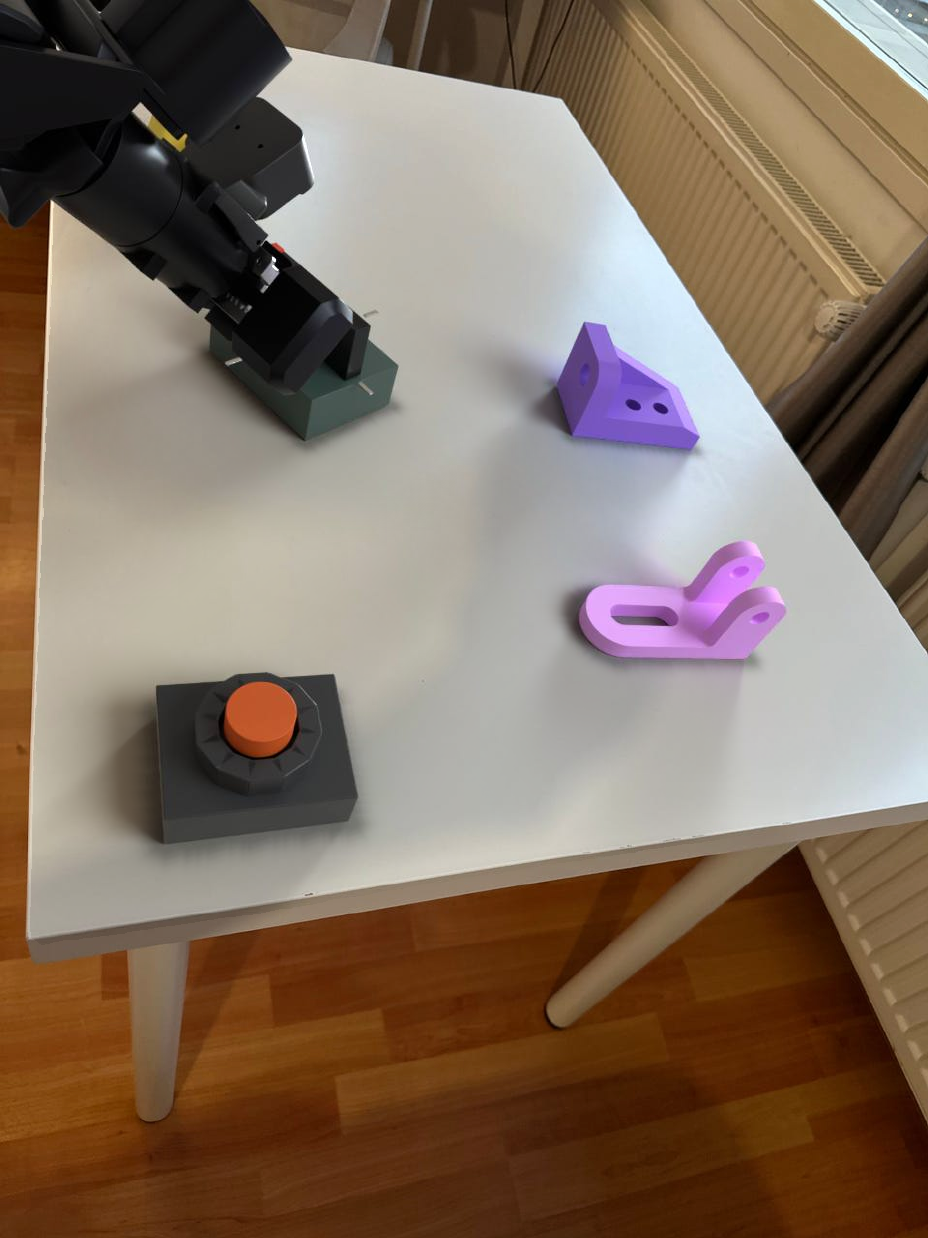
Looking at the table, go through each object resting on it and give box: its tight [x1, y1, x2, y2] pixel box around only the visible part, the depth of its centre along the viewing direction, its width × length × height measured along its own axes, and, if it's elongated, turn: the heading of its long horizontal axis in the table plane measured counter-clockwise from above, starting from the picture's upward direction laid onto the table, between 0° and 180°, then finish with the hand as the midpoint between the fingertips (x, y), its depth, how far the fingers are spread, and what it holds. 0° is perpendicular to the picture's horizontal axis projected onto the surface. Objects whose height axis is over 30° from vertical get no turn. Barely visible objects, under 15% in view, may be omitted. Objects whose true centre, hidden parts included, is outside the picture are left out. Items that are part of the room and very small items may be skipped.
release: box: [155, 671, 359, 845], centre depth 48 cm, size 10×8×5 cm
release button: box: [224, 682, 297, 757], centre depth 46 cm, size 4×4×2 cm
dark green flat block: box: [208, 309, 399, 442], centre depth 70 cm, size 15×15×4 cm
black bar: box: [271, 242, 372, 380], centre depth 67 cm, size 11×2×5 cm, turn 46°
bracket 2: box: [578, 540, 787, 660], centre depth 63 cm, size 13×6×7 cm, turn 100°
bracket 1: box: [556, 321, 701, 450], centre depth 78 cm, size 12×7×7 cm, turn 98°
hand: (282, 319), depth 60 cm, fingers closed
